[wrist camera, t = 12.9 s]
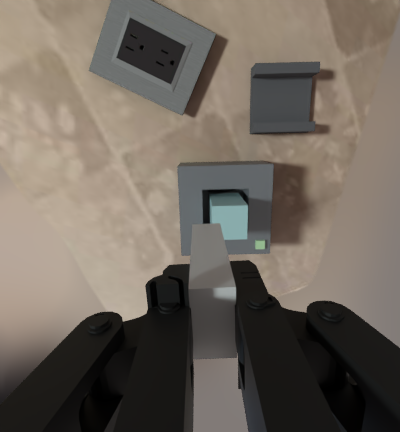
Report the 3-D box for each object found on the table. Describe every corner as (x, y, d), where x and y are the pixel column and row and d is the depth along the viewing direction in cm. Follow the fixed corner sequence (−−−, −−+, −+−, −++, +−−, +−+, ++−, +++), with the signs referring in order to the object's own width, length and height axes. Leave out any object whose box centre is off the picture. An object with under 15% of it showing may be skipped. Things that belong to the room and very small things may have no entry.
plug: (208, 190, 40) (211, 205, 31) (236, 189, 40) (248, 204, 31) (208, 217, 41) (211, 240, 32) (236, 216, 41) (247, 239, 32)
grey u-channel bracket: (251, 68, 37) (255, 62, 34) (310, 67, 37) (320, 60, 34) (249, 133, 39) (253, 133, 36) (306, 132, 39) (314, 131, 36)
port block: (180, 162, 40) (177, 166, 34) (262, 160, 40) (274, 164, 34) (183, 240, 43) (181, 256, 37) (260, 238, 43) (270, 254, 37)
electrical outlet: (215, 40, 36) (216, 33, 34) (183, 116, 39) (182, 115, 37) (121, -9, 35) (116, -19, 33) (94, 74, 38) (87, 69, 35)
